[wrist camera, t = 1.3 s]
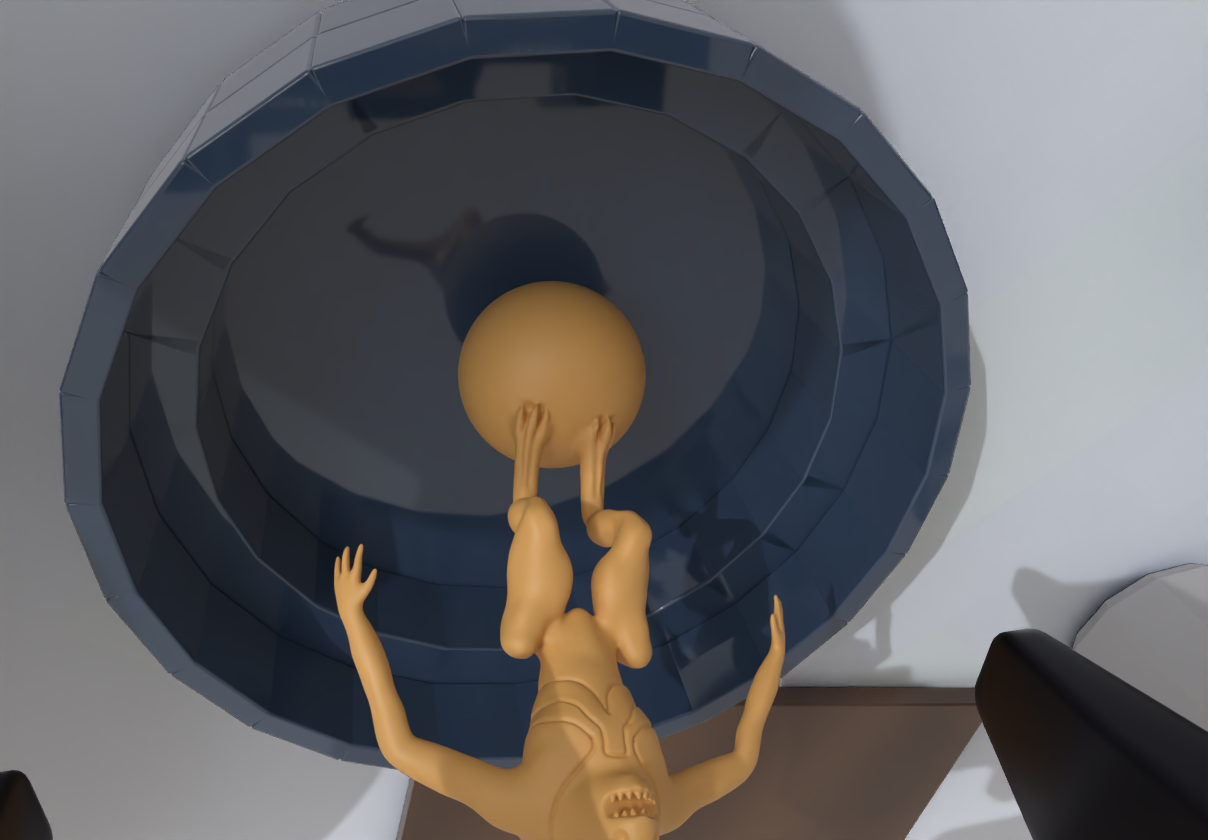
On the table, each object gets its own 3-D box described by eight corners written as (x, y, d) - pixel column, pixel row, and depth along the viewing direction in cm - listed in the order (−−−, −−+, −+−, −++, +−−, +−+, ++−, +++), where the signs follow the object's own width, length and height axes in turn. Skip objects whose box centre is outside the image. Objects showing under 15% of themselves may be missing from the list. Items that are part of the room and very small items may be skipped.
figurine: (727, 295, 22) (1025, 688, 12) (639, 494, 25) (822, 945, 15) (375, 206, 19) (394, 631, 9) (319, 444, 22) (286, 966, 12)
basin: (977, 72, 21) (1130, 137, 16) (733, 632, 29) (794, 767, 25) (120, -153, 15) (32, -139, 11) (125, 616, 24) (77, 785, 19)
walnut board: (982, 687, 34) (994, 704, 33) (847, 896, 40) (855, 914, 39) (430, 684, 27) (431, 705, 27) (374, 933, 34) (374, 955, 33)
